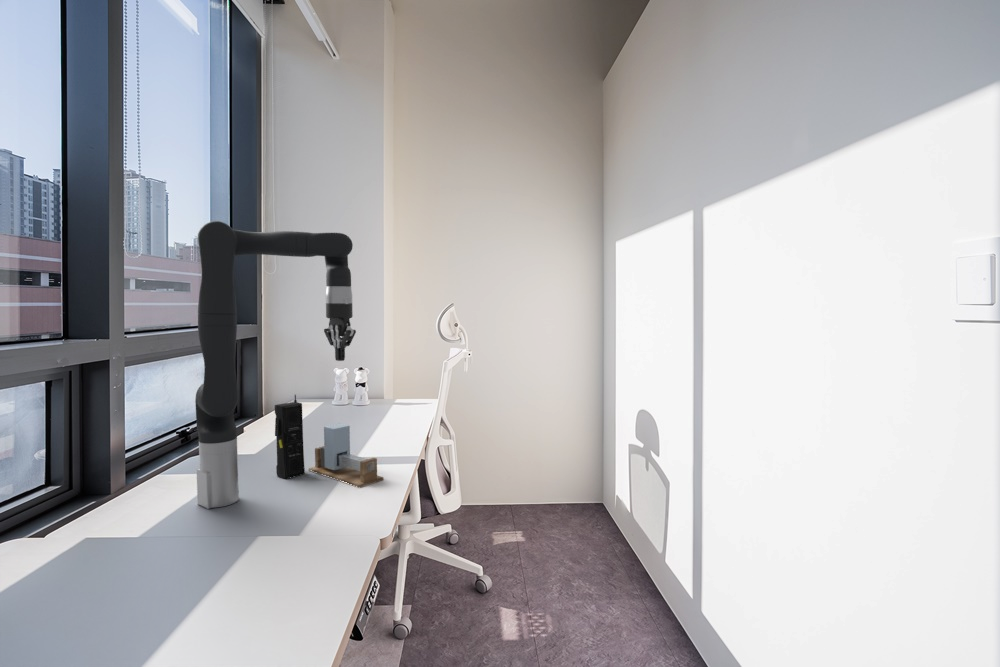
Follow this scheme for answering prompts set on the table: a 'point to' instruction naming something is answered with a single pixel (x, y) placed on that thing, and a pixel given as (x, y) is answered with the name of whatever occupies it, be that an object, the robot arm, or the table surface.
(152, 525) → the table surface
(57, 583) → the table surface
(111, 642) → the table surface
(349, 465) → the white long bar
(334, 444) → the sleeve
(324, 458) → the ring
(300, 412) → the portable radio
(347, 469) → the stand
